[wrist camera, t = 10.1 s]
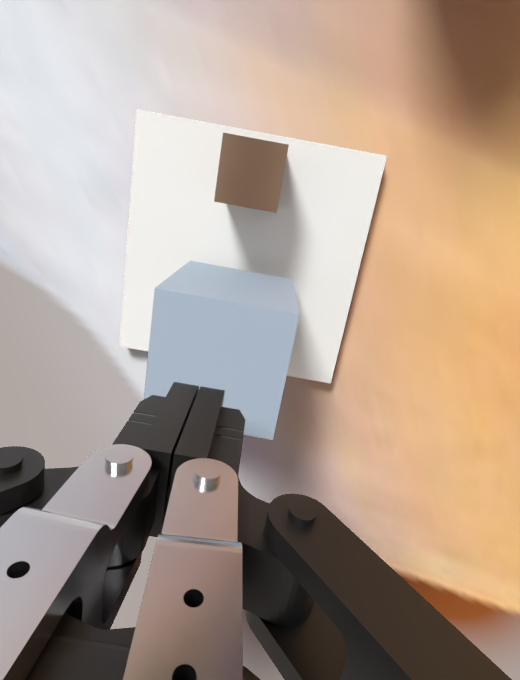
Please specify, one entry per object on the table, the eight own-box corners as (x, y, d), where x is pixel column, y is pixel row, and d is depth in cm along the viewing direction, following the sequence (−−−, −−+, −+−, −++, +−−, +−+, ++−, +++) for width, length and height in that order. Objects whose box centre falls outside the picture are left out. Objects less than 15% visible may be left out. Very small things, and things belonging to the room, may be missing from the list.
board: (382, 157, 22) (387, 155, 21) (328, 376, 25) (330, 383, 24) (142, 112, 21) (136, 109, 20) (125, 340, 25) (119, 346, 24)
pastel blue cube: (293, 279, 22) (299, 314, 15) (274, 374, 23) (272, 440, 17) (190, 260, 22) (154, 288, 15) (178, 357, 23) (141, 417, 17)
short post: (286, 153, 21) (288, 144, 17) (276, 209, 22) (276, 212, 18) (233, 143, 21) (223, 132, 17) (225, 200, 22) (213, 201, 18)
